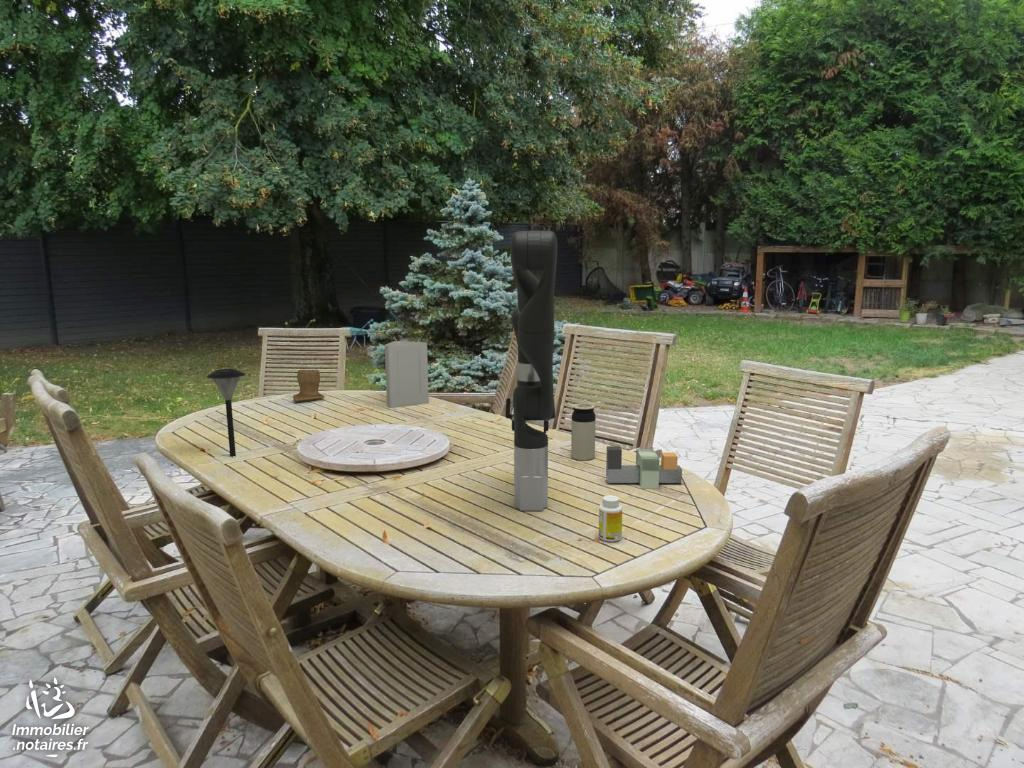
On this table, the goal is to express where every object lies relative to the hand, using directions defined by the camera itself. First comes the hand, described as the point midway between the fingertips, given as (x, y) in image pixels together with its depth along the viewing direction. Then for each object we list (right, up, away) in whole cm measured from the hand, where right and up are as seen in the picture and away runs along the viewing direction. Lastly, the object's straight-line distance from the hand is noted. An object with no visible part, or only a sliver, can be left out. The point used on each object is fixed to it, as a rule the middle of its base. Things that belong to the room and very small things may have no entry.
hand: (530, 432), depth 199 cm
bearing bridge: (+35, -16, +8) cm, 40 cm away
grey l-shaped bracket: (+34, -15, +8) cm, 38 cm away
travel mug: (+19, -11, +34) cm, 40 cm away
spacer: (+42, -11, +7) cm, 44 cm away
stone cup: (-103, +6, +128) cm, 164 cm away
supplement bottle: (+19, -24, -32) cm, 44 cm away
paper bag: (-56, +5, +121) cm, 133 cm away
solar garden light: (-101, -11, +37) cm, 108 cm away
